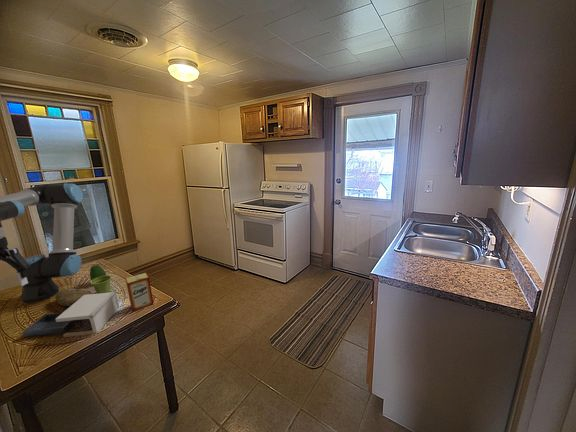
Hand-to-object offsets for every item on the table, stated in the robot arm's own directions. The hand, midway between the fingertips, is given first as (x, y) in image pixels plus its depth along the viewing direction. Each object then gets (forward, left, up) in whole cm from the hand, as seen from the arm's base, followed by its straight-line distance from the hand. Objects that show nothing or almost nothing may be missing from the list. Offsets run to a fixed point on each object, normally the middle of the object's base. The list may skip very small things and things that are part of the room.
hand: (8, 285), depth 104 cm
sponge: (+9, +20, -23) cm, 32 cm away
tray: (+13, 0, -22) cm, 26 cm away
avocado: (+9, +41, -22) cm, 48 cm away
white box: (+28, +1, -22) cm, 36 cm away
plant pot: (+19, +27, -22) cm, 40 cm away
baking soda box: (+46, +11, -22) cm, 53 cm away
